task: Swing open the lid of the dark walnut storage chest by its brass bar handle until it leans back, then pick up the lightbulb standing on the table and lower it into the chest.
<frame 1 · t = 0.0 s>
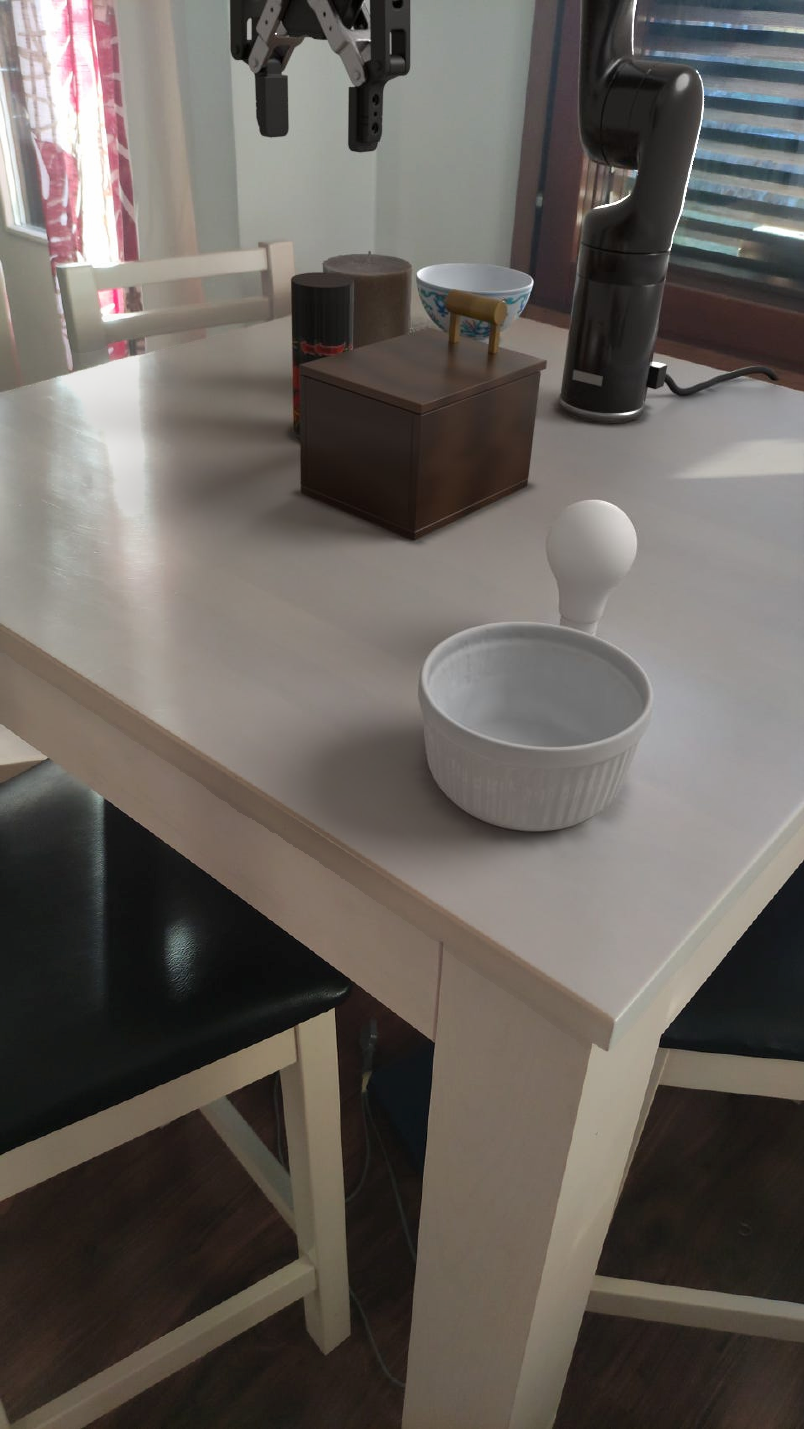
hand: (317, 143, 72), 29 cm above the table, tool pointing down, fingers open, 8 cm apart
chinaware: (469, 340, 139), on the table
pillar candle: (364, 393, 120), on the table
chest: (416, 489, 98), on the table
lid: (426, 340, 90), point 13 cm above the table, hinge at 0.0°
lightbulb: (574, 647, 76), on the table
ramekin: (521, 777, 64), on the table
deodorant: (322, 435, 109), on the table
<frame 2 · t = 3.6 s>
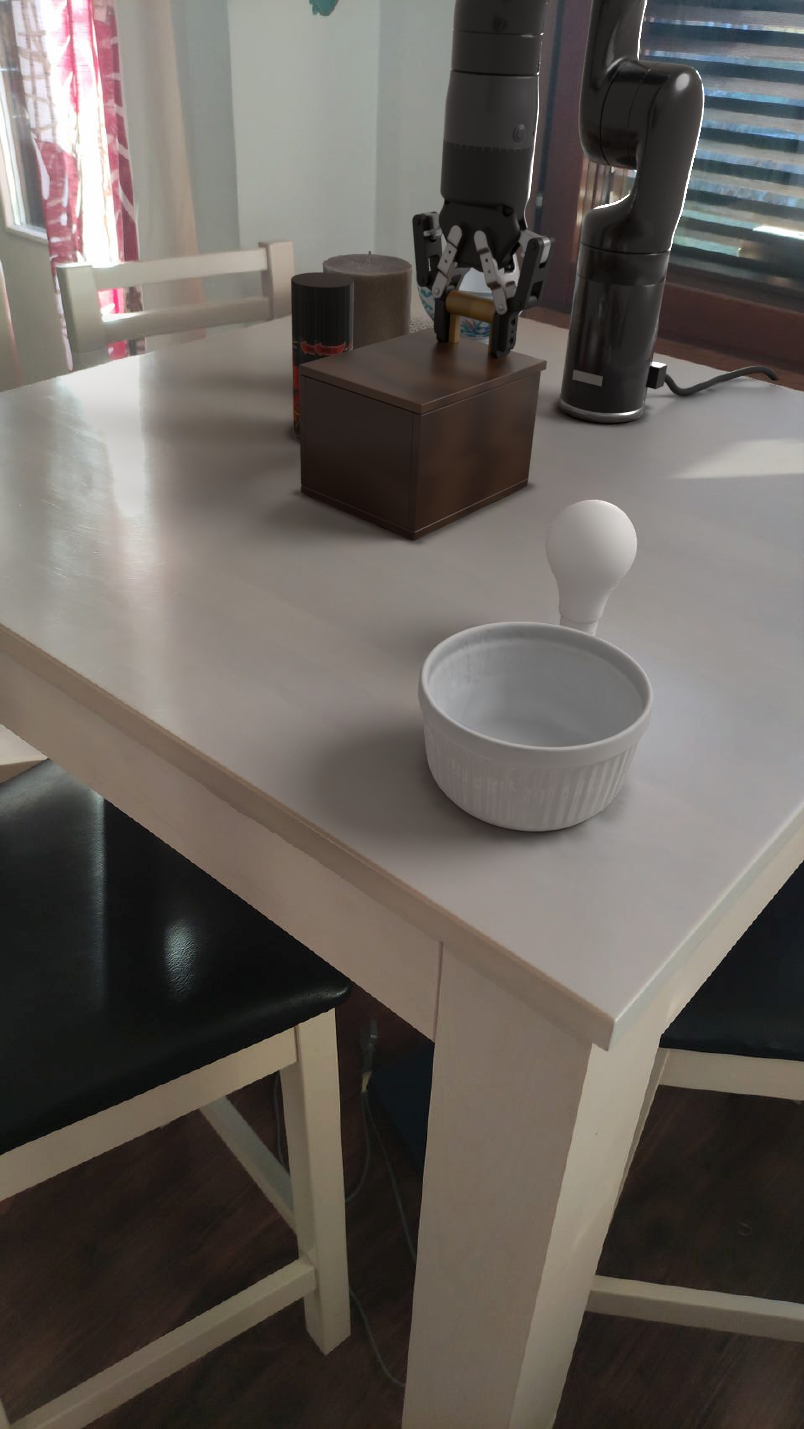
hand: (472, 347, 95), 12 cm above the table, tool pointing down, fingers closed on lid, 5 cm apart
lid: (427, 340, 90), point 13 cm above the table, hinge at -0.2°, touching chest, gripper
everything else where it was.
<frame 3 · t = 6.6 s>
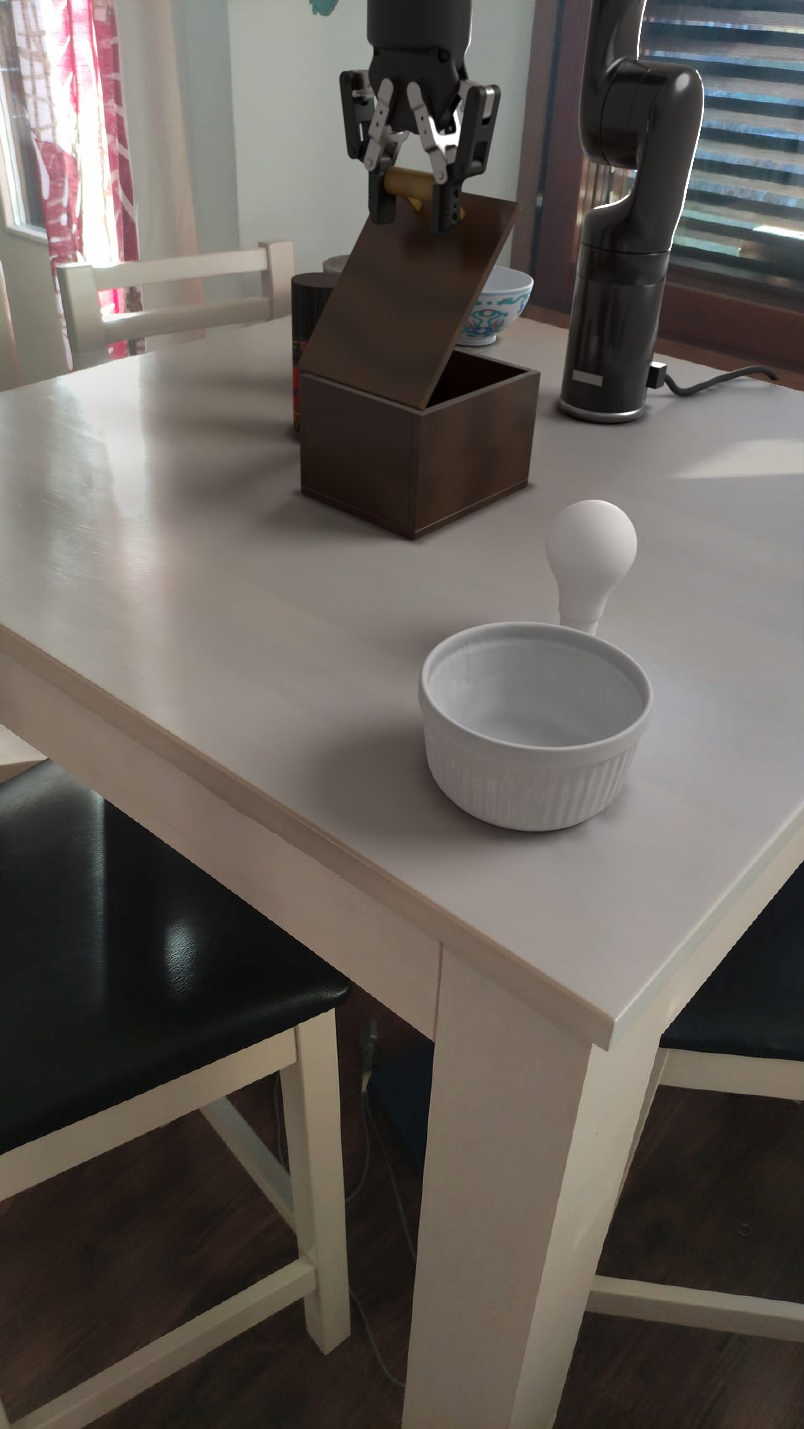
hand: (412, 228, 83), 23 cm above the table, tool pointing down, fingers closed on lid, 5 cm apart
lid: (390, 276, 84), point 19 cm above the table, hinge at 51.3°, touching gripper
everything else where it was.
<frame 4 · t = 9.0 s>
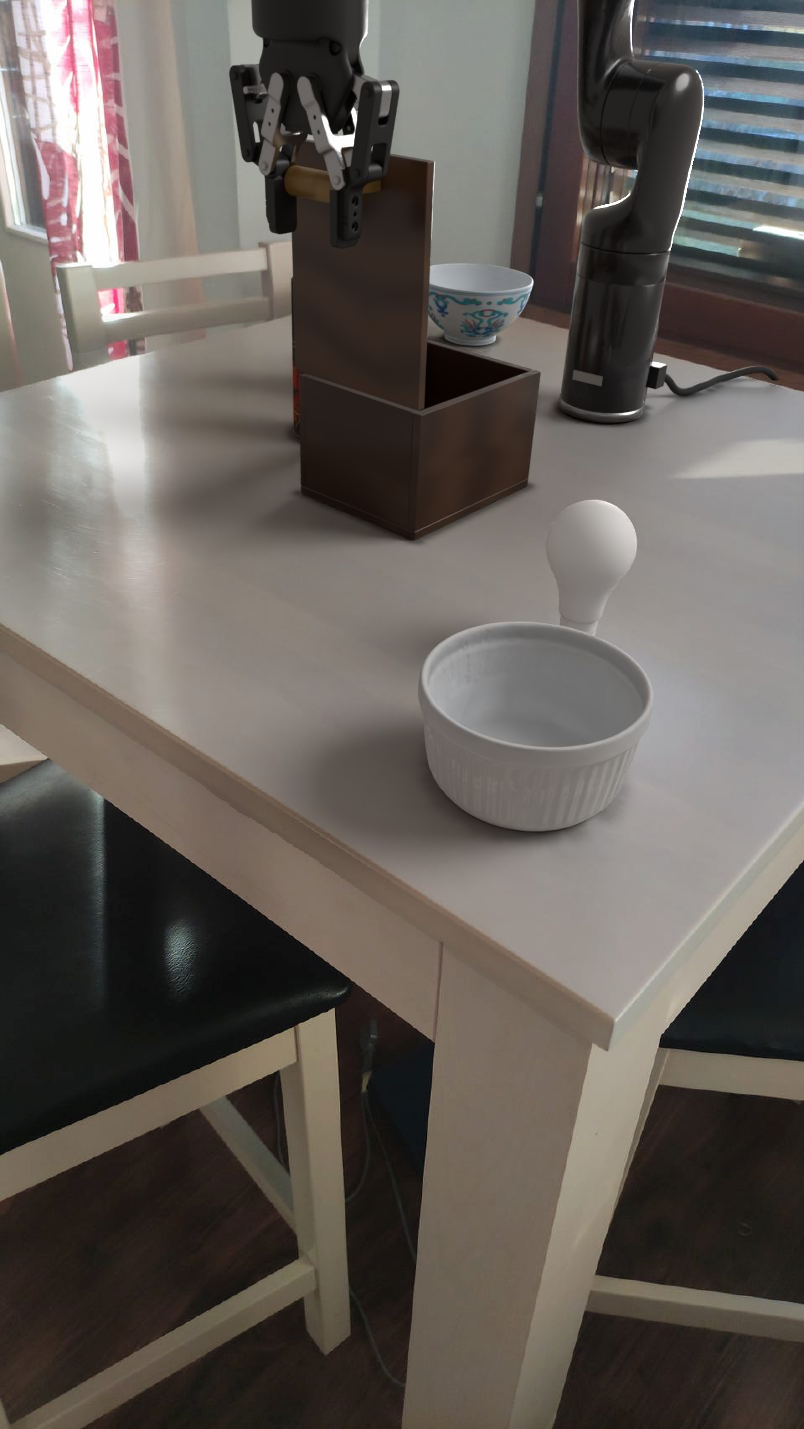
hand: (312, 238, 76), 23 cm above the table, tool pointing down, fingers closed on lid, 5 cm apart
lid: (337, 281, 79), point 20 cm above the table, hinge at 91.1°, touching gripper
everything else where it was.
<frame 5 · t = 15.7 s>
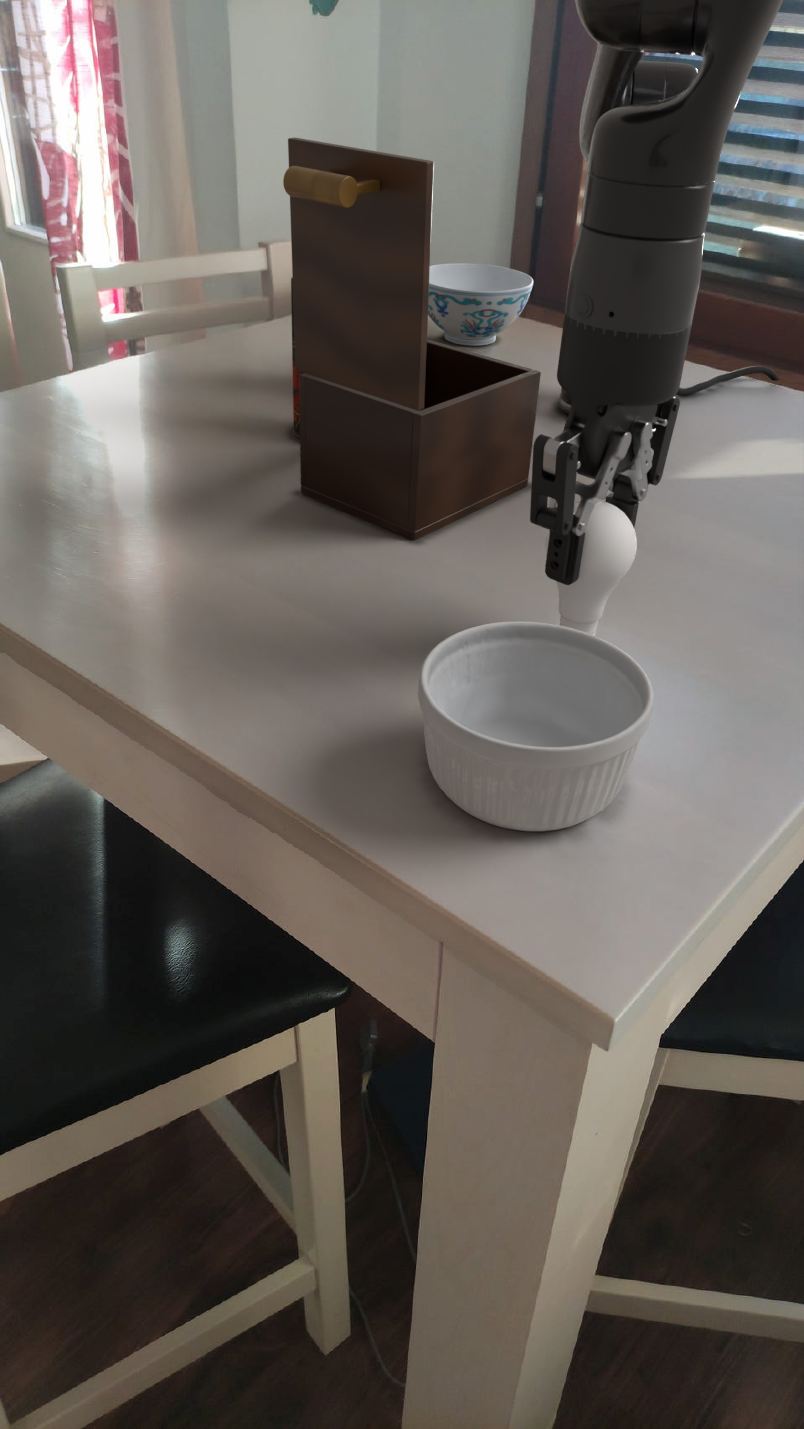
hand: (588, 562, 72), 7 cm above the table, tool pointing down, fingers closed on lightbulb, 6 cm apart
lid: (337, 281, 79), point 20 cm above the table, hinge at 91.4°
lightbulb: (574, 647, 76), on the table, touching gripper
everything else where it was.
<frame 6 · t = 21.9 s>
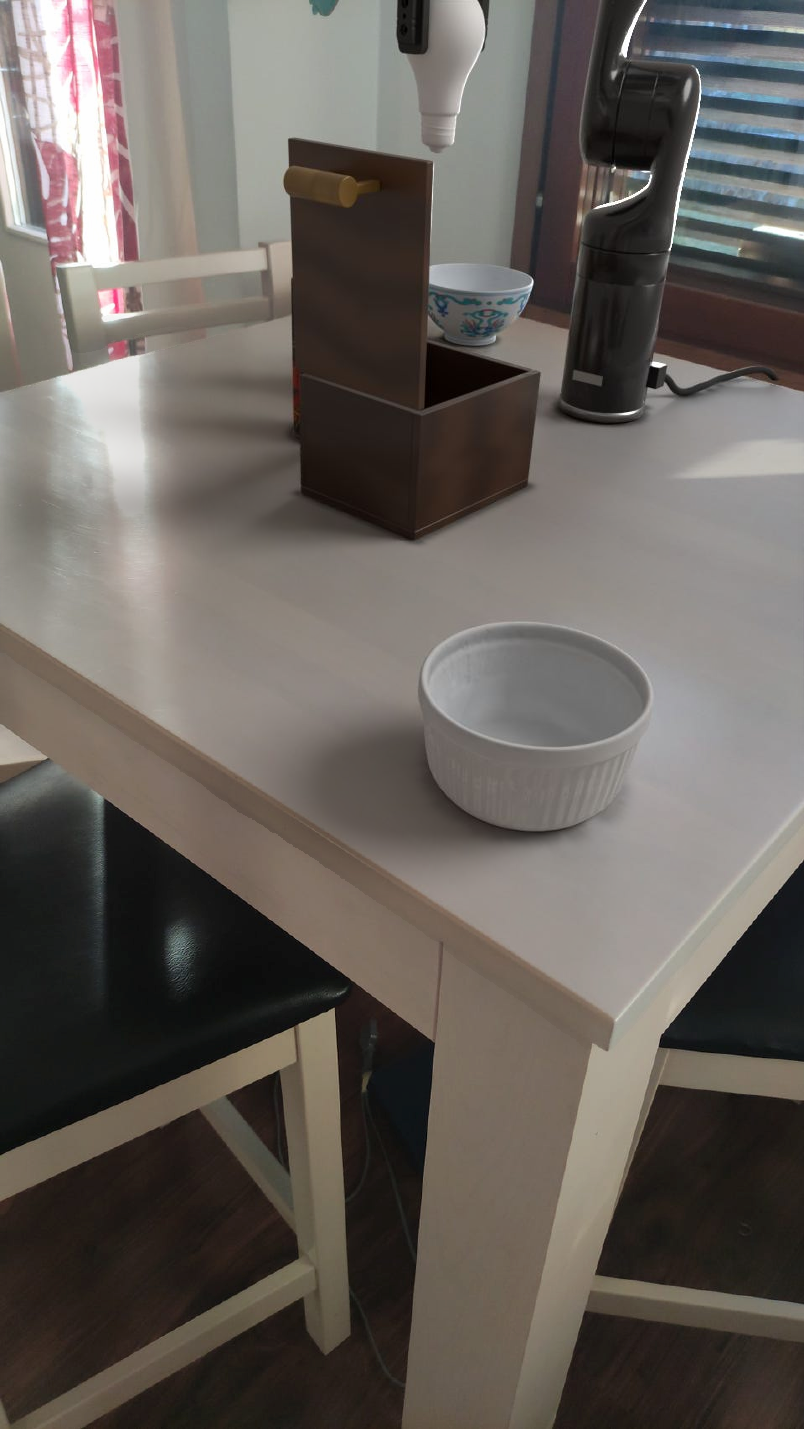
hand: (442, 52, 78), 34 cm above the table, tool pointing down, fingers closed on lightbulb, 6 cm apart
lightbulb: (436, 156, 82), point 28 cm above the table, touching gripper
everything else where it was.
when the fingers open (7 cm above the table, at t = 28.3 s): lightbulb stays where it is, resting on chest.
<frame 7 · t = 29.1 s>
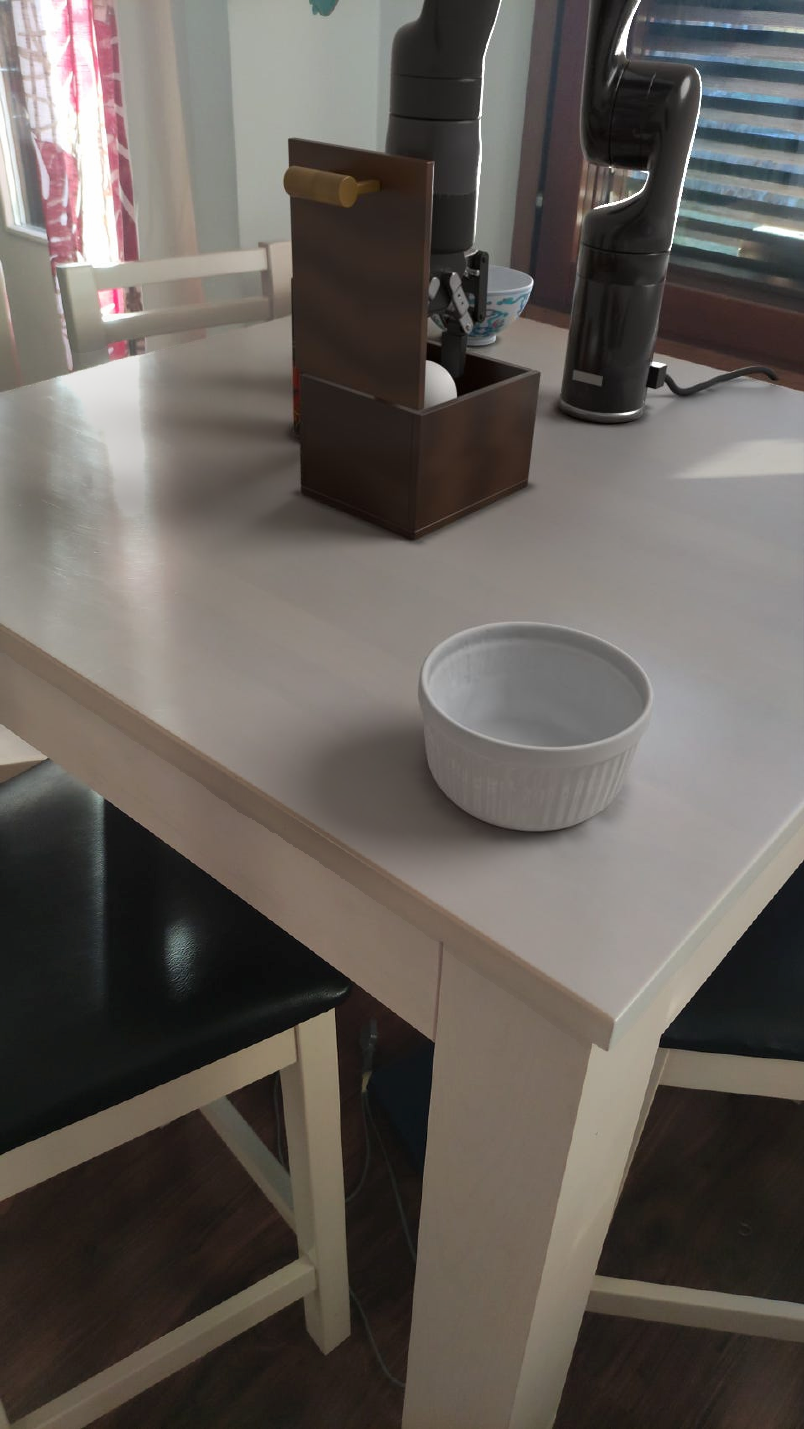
hand: (421, 386, 92), 10 cm above the table, tool pointing down, fingers open, 8 cm apart
lightbulb: (417, 483, 97), point 1 cm above the table, touching chest
everything else where it was.
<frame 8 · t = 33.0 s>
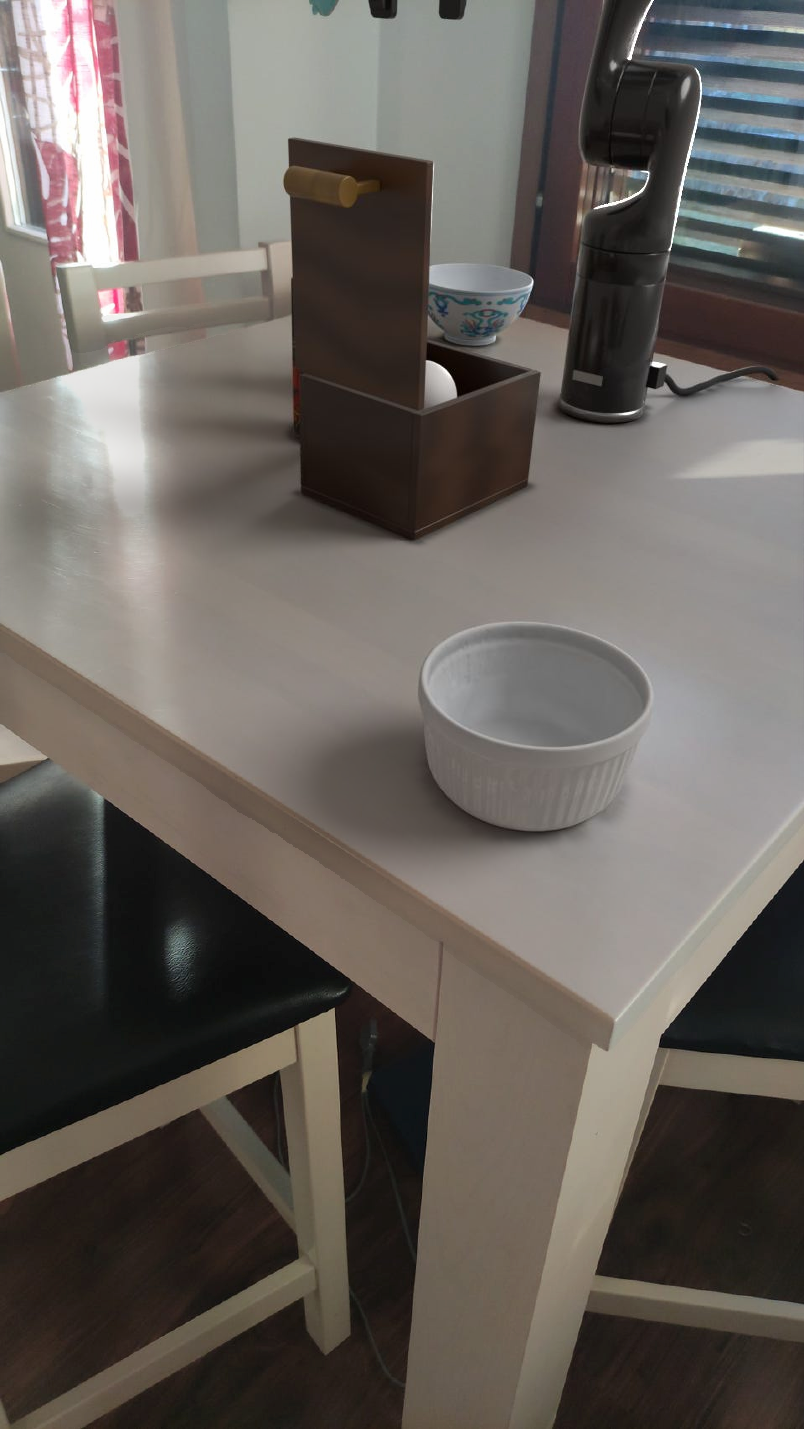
hand: (418, 19, 85), 36 cm above the table, tool pointing down, fingers open, 8 cm apart
nothing on the table moved.
at the end: lid at +91° (first picture: +0°); lightbulb inside the target area in the chest (0.1 cm from its centre), point 0.6 cm above the chest's base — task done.
